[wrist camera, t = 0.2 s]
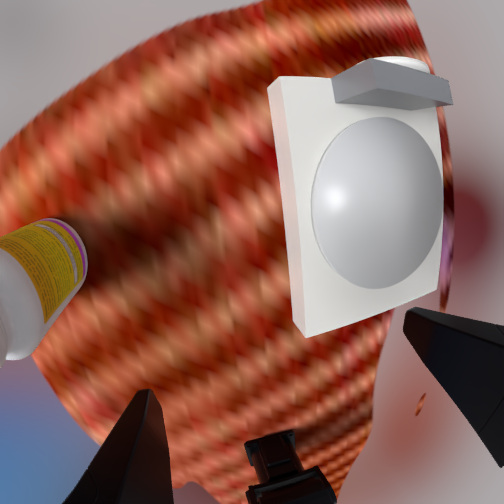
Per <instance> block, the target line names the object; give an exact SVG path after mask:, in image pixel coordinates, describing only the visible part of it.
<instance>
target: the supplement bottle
mask: <svg viewBox="0 0 504 504" xmlns="http://www.w3.org/2000/svg"><path fill="white" fill-rule="evenodd" d="M87 267H88V261H87V254H86V250H85V247H84V244H83V242H82V240H81V238H80V237H79V235H78V234H77V232H76V231H75V230H74V229H73V228H72V227H71V226H69V225H68V224H67V223H65V222H63V221H61V220H58V219H53V218H47V219H42V220H39V221H36V222H34V223H31V224H29V225H27V226H24V227H22V228H20V229H18V230H15V231H13V232H11V233H9V234H7V235H4V236H2V237H0V369H1V367H2V366H3V364H4V363H5V360H6V359H7V360H19V359H23V358H25V357H27V356H29V355H30V354H31V353H32V352H33V351H34V350H35V349H36V348H37V346H38V345H39V343H40V342H41V340H42V339H43V337H44V336H45V334H46V333H47V331H48V330H49V329H50V327H51V326H52V324H53V323H54V322H55V320H56V319H57V318H58V316H59V315H60V314H61V312H62V311H63V310H64V308H65V307H66V306H67V304H68V303H69V302H70V300H71V299H72V298H73V297H74V295H75V294H76V293H77V291H78V290H79V289H80V287H81V286H82V284H83V283H84V280H85V278H86V274H87Z"/></svg>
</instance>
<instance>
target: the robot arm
mask: <svg viewBox="0 0 504 504" xmlns="http://www.w3.org/2000/svg"><path fill="white" fill-rule="evenodd" d="M403 332H404V334H405V336H406V337H407V339H408V340H409V342H410V343H411V345H412V346H413V348H414V349H415V351H416V352H417V354H418V356H419V357H420V358H421V360H422V362H423V363H424V364H425V366H426V367H427V368H428V369H429V371H430V372H431V373H432V374H433V376H434V377H435V378H436V379H437V381H438V382H439V383H440V384H441V386H442V387H443V388H444V389H445V391H446V392H447V393H448V395H449V396H450V397H451V399H452V400H453V401H454V403H455V404H456V405H457V406H458V408H459V409H460V411H461V412H462V413H463V415H464V416H465V417H466V419H467V420H468V421H469V423H470V424H471V426H472V427H473V429H474V430H475V431H476V433H477V434H478V436H479V437H480V439H481V440H482V442H483V443H484V445H485V446H486V447H487V449H488V450H489V452H490V453H491V455H492V457H493V458H494V460H495V461H496V463H497V464H498V466H499V467H500V468H502V467H503V466H504V326H502V325H497V324H496V325H495V324H492V323H487V322H482V321H478V320H473V319H469V318H464V317H459V316H455V315H450V314H446V313H441V312H436V311H432V310H427V309H423V308H419V307H413V308H411V309H409V310H407V312H406V314H405V319H404V325H403ZM244 446H245V450H246V453H247V456H248V459H249V462H250V465H251V466H254V468H255V471H256V474H257V477H258V480H259V483H260V484H258V485H254V486H253V485H251V486H248V487H249V490H248V491H246V492H245V493H246V496H247V500H248V504H336V503H337V499H336V496H335V493H334V491H333V489H332V487H331V485H330V483H329V482H328V481H327V479H326V478H325V476H324V475H323V473H322V472H321V470H320V469H319V467H318V466H317V465H316V466H314V467H313V468H310V469H307V470H304V468H303V466H302V464H301V462H300V459H299V457H298V455H297V453H296V451H295V433H294V431H293V430H290V431H287V432H284V433H280V434H277V435H273V436H270V437H266V438H262V439H258V440H254V441H250V442H246V443H245V444H244ZM62 504H174V501H173V491H172V481H171V469H170V456H169V448H168V442H167V436H166V431H165V425H164V418H163V412H162V408H161V405H160V403H159V402H158V400H157V398H156V396H155V395H154V393H153V391H152V390H151V389H142V390H138V391H137V393H136V394H135V396H134V397H133V399H132V400H131V402H130V403H129V405H128V406H127V408H126V409H125V411H124V412H123V414H122V415H121V417H120V418H119V420H118V421H117V423H116V424H115V426H114V427H113V429H112V430H111V432H110V434H109V435H108V437H107V438H106V440H105V441H104V443H103V444H102V446H101V447H100V449H99V451H98V452H97V454H96V455H95V457H94V458H93V460H92V462H91V463H90V465H89V466H88V469H87V470H86V471H85V472H84V474H83V476H82V477H81V479H80V480H79V481H78V483H77V484H76V486H75V487H74V489H73V490H72V491H71V493H70V494H69V495H68V497H67V498H66V499H65V501H64V502H63V503H62Z"/></svg>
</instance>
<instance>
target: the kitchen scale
mask: <svg viewBox="0 0 504 504" xmlns="http://www.w3.org/2000/svg"><path fill="white" fill-rule="evenodd" d="M267 91H268V98H269V104H270V111H271V118H272V125H273V132H274V140H275V147H276V155H277V163H278V171H279V179H280V188H281V196H282V205H283V214H284V224H285V233H286V243H287V254H288V265H289V276H290V288H291V300H292V313H293V322H294V323H295V324H296V326H297V327H298V328H299V330H300V331H301V332H302V334H303V335H304V336H305V338H308V337H312V336H315V335H318V334H321V333H324V332H328V331H331V330H334V329H337V328H340V327H343V326H346V325H349V324H352V323H354V322H357V321H360V320H363V319H366V318H368V317H371V316H374V315H377V314H379V313H382V312H384V311H387V310H390V309H392V308H395V307H397V306H400V305H402V304H405V303H407V302H409V301H412V300H414V299H417V298H419V297H421V296H423V295H426V294H428V293H430V292H433V291H435V290H437V283H438V276H439V268H440V258H441V247H442V231H443V199H444V198H443V170H442V155H441V144H440V134H439V126H438V119H437V112H436V107H439V106H447V105H453V101H452V96H451V91H450V86H449V81H448V80H446V79H443V78H440V77H437V76H435V75H432V74H430V71H429V67H428V65H427V64H426V63H424V62H422V61H420V60H417V59H413V58H407V57H394V56H393V57H379V58H373V59H372V58H370V59H368V60H365V61H363V62H360V63H358V64H357V65H355V66H353V67H351V68H350V69H348V70H346V71H344V72H342V73H340V74H338V75H336V76H334V77H333V78H318V77H295V76H279V77H278V78H277V79H276V80H275V81H274V82H273V83H272V84H271V85H270V86H269V87H268V88H267Z"/></svg>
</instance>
